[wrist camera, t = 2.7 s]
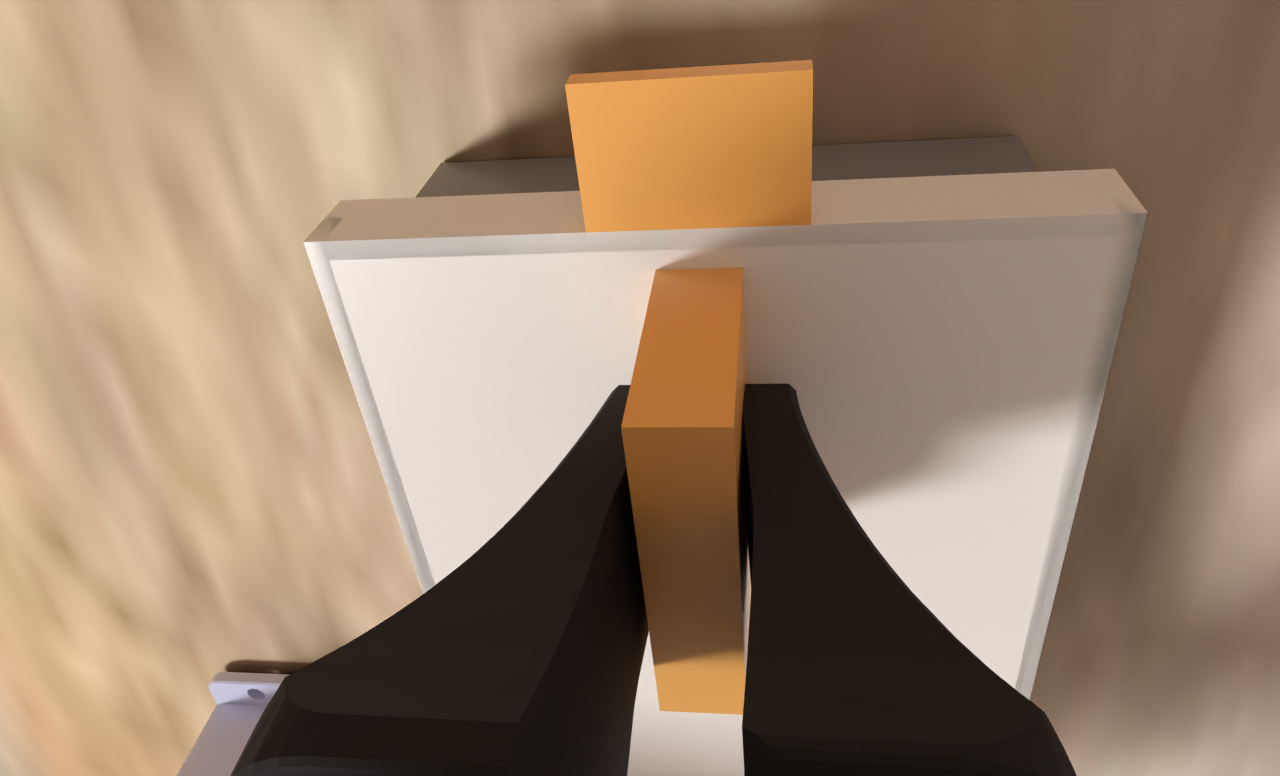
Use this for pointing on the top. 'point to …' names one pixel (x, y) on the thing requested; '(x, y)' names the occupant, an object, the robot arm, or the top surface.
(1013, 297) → the lid
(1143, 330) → the top surface
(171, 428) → the top surface
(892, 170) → the tub
